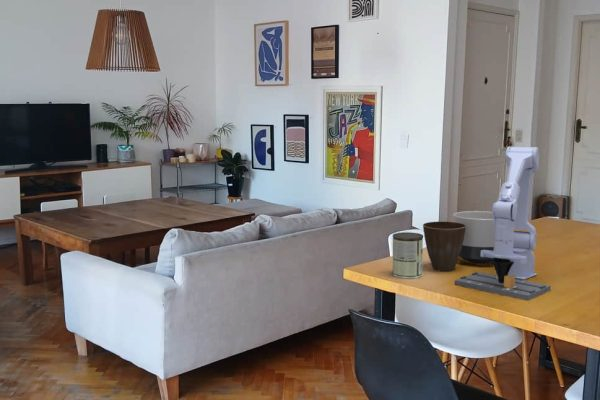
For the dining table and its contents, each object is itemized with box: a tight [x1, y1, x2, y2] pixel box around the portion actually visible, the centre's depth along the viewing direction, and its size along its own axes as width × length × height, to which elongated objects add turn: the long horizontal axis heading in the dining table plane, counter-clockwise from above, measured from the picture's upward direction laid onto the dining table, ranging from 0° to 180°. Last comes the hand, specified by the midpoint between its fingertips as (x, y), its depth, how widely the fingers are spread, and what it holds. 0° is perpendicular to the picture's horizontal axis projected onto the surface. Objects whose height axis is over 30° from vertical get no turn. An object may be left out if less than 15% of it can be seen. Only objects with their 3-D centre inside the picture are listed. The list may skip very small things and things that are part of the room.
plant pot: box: [422, 221, 466, 272], centre depth 225 cm, size 15×15×16 cm
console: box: [454, 271, 552, 301], centre depth 201 cm, size 15×25×2 cm, turn 44°
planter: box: [452, 210, 495, 265], centre depth 236 cm, size 19×19×18 cm
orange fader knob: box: [504, 274, 516, 288], centre depth 195 cm, size 3×2×4 cm, turn 134°
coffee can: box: [392, 231, 424, 280], centre depth 217 cm, size 10×10×14 cm
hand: (502, 282), depth 197 cm, fingers closed
